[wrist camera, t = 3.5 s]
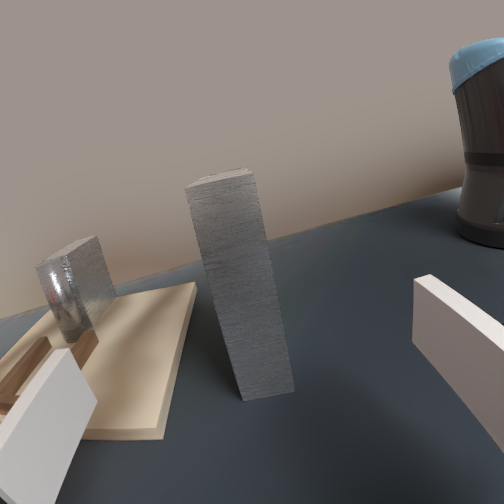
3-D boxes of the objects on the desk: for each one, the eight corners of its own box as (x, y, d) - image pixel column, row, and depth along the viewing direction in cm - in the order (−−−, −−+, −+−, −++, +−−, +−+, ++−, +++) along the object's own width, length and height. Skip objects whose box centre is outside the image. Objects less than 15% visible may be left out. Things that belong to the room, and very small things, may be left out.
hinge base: (197, 290, 35) (192, 271, 34) (163, 439, 15) (147, 412, 14) (52, 316, 35) (46, 300, 34) (-39, 421, 15) (-53, 400, 14)
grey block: (273, 307, 28) (244, 166, 24) (294, 391, 17) (253, 172, 14) (239, 314, 28) (206, 175, 24) (243, 401, 17) (184, 188, 14)
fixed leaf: (117, 296, 35) (97, 234, 32) (84, 341, 25) (52, 263, 23) (96, 300, 35) (75, 240, 32) (59, 344, 25) (28, 270, 23)
